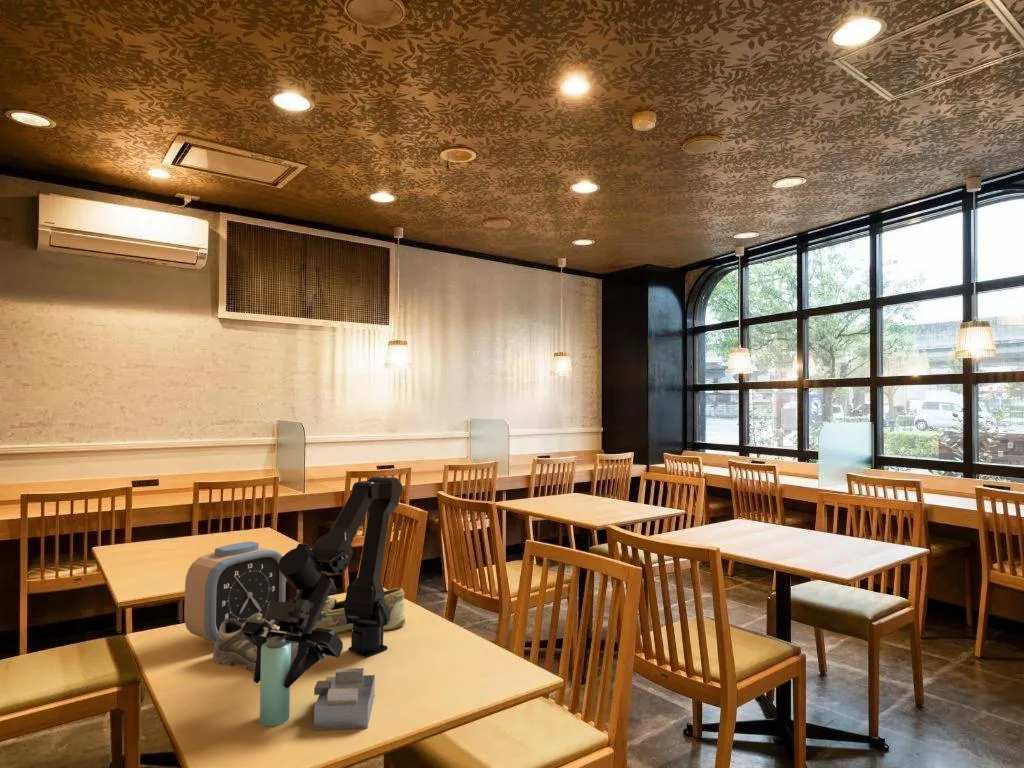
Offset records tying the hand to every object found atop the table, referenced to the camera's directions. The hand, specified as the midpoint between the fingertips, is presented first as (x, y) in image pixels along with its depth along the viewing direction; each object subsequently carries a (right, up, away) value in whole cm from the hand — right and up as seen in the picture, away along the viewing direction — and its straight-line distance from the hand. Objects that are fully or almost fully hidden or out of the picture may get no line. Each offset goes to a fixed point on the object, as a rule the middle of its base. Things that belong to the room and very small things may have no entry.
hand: (270, 684), depth 111 cm
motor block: (+12, -7, +4) cm, 15 cm away
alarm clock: (-23, -8, +40) cm, 47 cm away
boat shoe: (+1, -8, +47) cm, 47 cm away
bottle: (0, -7, +1) cm, 7 cm away
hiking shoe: (-12, -8, +25) cm, 29 cm away
